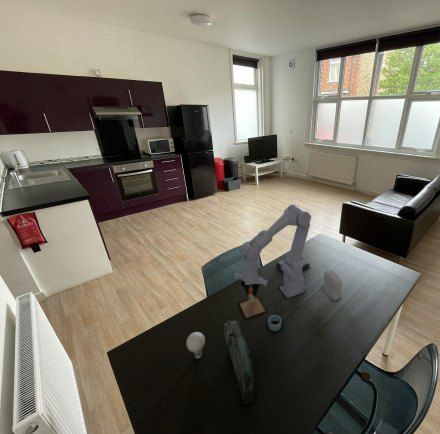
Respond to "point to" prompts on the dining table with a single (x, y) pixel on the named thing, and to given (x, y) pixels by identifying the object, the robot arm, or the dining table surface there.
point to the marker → (251, 295)
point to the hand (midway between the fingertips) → (251, 294)
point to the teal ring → (274, 318)
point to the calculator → (303, 262)
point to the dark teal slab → (240, 359)
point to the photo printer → (332, 284)
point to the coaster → (252, 308)
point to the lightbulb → (196, 343)
